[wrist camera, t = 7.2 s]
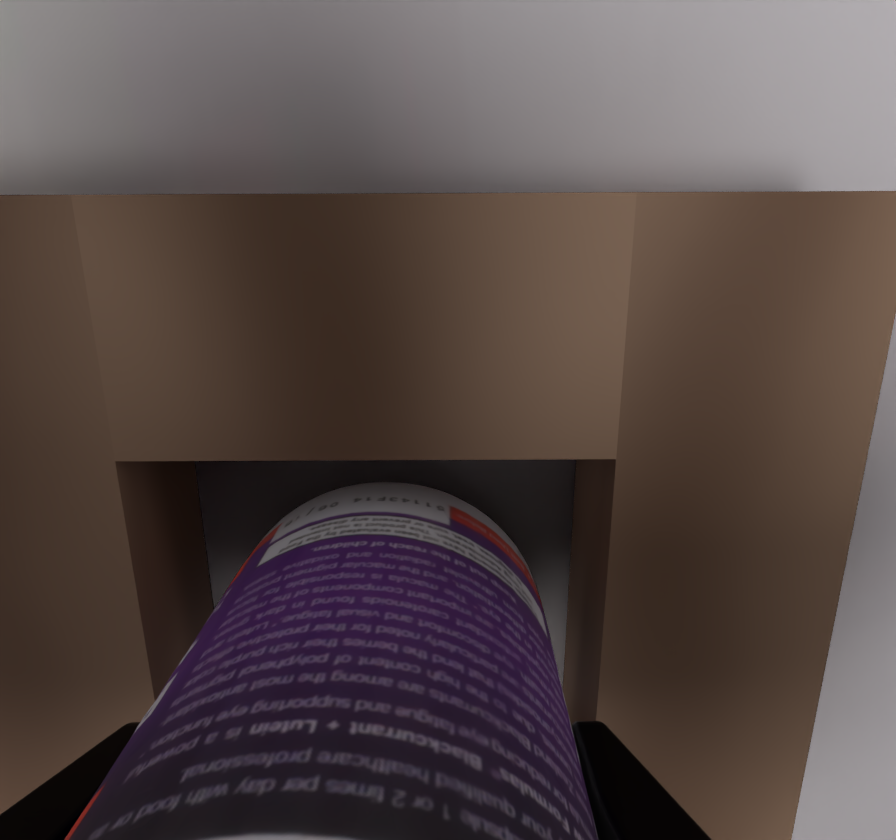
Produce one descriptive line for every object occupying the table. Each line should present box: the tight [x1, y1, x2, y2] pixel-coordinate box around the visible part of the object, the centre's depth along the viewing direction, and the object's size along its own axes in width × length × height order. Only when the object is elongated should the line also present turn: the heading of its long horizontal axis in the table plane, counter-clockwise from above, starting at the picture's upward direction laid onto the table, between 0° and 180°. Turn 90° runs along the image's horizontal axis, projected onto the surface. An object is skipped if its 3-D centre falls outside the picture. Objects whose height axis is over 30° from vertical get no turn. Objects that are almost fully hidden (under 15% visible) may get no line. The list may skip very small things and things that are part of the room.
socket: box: [0, 191, 896, 840], centre depth 10 cm, size 14×14×4 cm
